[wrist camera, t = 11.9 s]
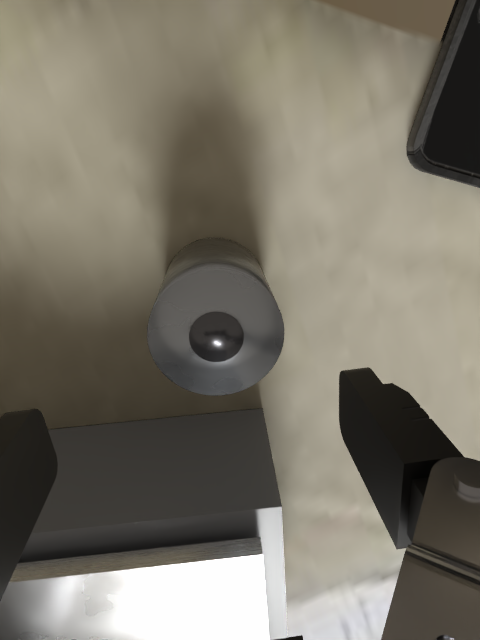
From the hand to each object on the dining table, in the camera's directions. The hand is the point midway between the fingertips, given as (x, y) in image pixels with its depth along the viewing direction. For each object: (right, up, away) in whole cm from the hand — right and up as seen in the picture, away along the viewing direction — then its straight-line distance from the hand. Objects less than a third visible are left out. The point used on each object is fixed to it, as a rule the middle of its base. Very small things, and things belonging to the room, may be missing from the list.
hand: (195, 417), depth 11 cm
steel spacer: (0, +4, +9) cm, 10 cm away
